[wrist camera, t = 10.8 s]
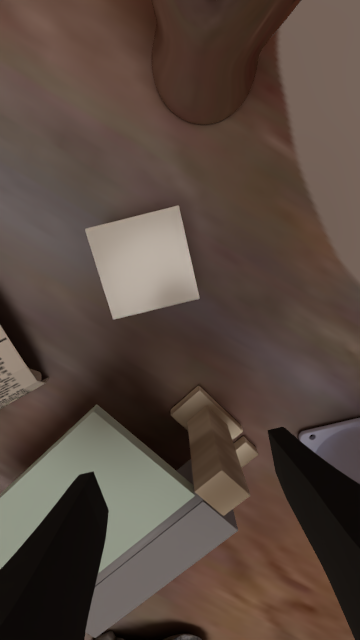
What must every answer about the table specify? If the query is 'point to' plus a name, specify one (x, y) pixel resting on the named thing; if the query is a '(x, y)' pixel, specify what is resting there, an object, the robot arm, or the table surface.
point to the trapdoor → (118, 513)
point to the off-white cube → (144, 262)
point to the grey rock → (180, 639)
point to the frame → (215, 450)
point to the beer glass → (211, 52)
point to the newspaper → (15, 373)
